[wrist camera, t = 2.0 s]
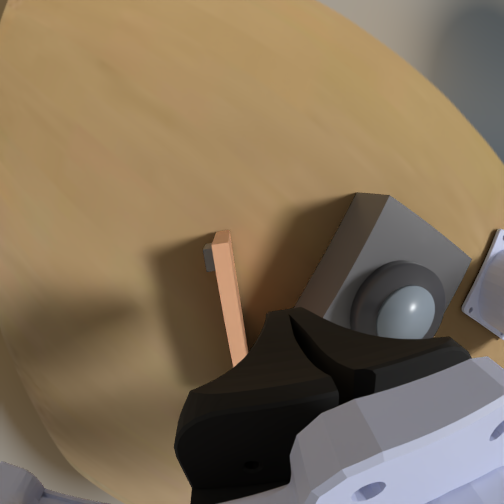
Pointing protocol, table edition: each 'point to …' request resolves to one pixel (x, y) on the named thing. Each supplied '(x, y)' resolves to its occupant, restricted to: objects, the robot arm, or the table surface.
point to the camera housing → (385, 272)
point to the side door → (228, 292)
